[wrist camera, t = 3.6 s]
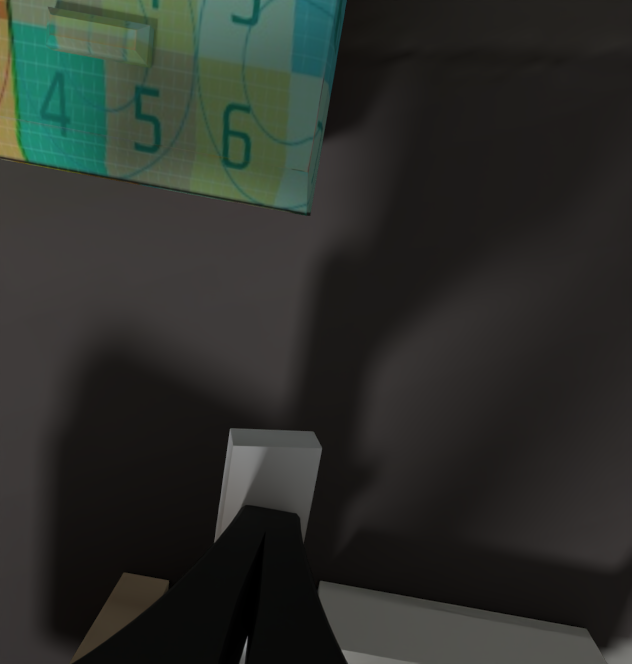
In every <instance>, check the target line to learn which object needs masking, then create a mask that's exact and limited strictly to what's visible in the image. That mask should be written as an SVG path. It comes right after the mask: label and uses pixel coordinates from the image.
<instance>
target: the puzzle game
mask: <svg viewBox="0 0 632 664" xmlns="http://www.w3.org/2000/svg"><path fill="white" fill-rule="evenodd" d="M346 2H347V0H0V159H3V160H8V161H13V162H19V163H24V164H30V165H35V166H40V167H46V168H51V169H57V170H62V171H68V172H73V173H78V174H84V175H89V176H95V177H100V178H105V179H111V180H116V181H122V182H127V183H133V184H138V185H143V186H149V187H154V188H160V189H165V190H170V191H176V192H181V193H187V194H192V195H197V196H203V197H208V198H214V199H219V200H225V201H230V202H235V203H241V204H246V205H252V206H257V207H262V208H268V209H273V210H279V211H284V212H290V213H295V214H300V215H306V216H310V213H311V207H312V201H313V196H314V190H315V184H316V178H317V172H318V166H319V160H320V155H321V149H322V143H323V137H324V131H325V125H326V119H327V114H328V108H329V102H330V96H331V90H332V84H333V78H334V73H335V67H336V61H337V55H338V49H339V43H340V37H341V32H342V26H343V20H344V14H345V8H346Z"/></svg>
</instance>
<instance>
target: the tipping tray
mask: <svg viewBox="0 0 632 664" xmlns="http://www.w3.org/2000/svg"><path fill="white" fill-rule="evenodd" d="M321 452H322V447H321V445H320V443H319V441H318V439H317V437H316V435H315V433H314V432H313V431H288V430H263V429H237V428H230V433H229V440H228V447H227V454H226V461H225V468H224V476H223V483H222V490H221V497H220V504H219V511H218V519H217V526H216V533H215V540H214V543H215V542H216V540H217V539H218V538H219V537H220V536H221V534H222V533H223V532H224V531H225V529H226V528H227V527H228V526H229V524H230V523H231V522H232V520H233V519H234V517H235V516H236V515H237V513H238V511H239V510H240V509H241V508H242V507H244V506H245V505H253V506H259V507H264V508H270V509H275V510H281V511H286V512H292V513H297V514H298V516H299V517H300V523H301V532H302V538H303V543H304V540H305V535H306V529H307V524H308V519H309V514H310V509H311V504H312V499H313V493H314V488H315V483H316V478H317V473H318V468H319V463H320V457H321ZM247 638H248V637H247ZM246 647H247V640H246V643H245V647H244V650H243V653H242V657H241V660H240V663H239V664H245V655H246Z"/></svg>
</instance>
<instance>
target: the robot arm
mask: <svg viewBox="0 0 632 664" xmlns="http://www.w3.org/2000/svg"><path fill="white" fill-rule="evenodd" d="M247 637H248V638H247ZM246 640H247V647H246V655H245V664H348V663H347V661H346V659H345V657H344V655H343V653H342V650H341V648H340V646H339V644H338V642H337V640H336V638H335V636H334V633H333V631H332V629H331V626H330V624H329V622H328V619H327V617H326V614H325V611H324V609H323V606H322V604H321V601H320V598H319V596H318V593H317V590H316V587H315V584H314V580H313V577H312V574H311V571H310V567H309V564H308V560H307V557H306V552H305V548H304V543H303V538H302V532H301V523H300V517H299V516H298V514H297V513H292V512H286V511H281V510H275V509H270V508H264V507H259V506H253V505H245V506H244V507H242V508H241V509H240V510H239V511H238V513H237V515H236V516H235V517H234V519H233V520H232V522H231V523H230V524H229V526H228V527H227V528H226V529H225V531H224V532H223V533H222V534H221V536H220V537H219V538H218V539H217V540H216V542H215V543H214V544H213V545H212V546H211V547H210V548H209V549H208V551H207V552H206V553H205V554H204V555H203V556H202V557H201V558H200V559H199V561H198V562H197V563H196V564H195V565H194V566H193V567H192V568H191V569H190V570H189V571H188V572H187V573H186V574H185V575H184V576H183V577H182V578H180V579H179V580H178V581H177V582H176V583H175V584H174V585H173V586H172V587H171V588H170V589H169V590H168V591H167V592H166V593H165V594H164V595H162V596H161V597H160V598H159V599H158V600H157V601H156V602H154V603H153V604H152V605H151V606H150V607H149V608H147V609H146V610H145V611H144V612H142V613H141V614H140V615H139V616H138V617H136V618H135V619H134V620H133V621H131V622H130V623H129V624H127V625H126V626H125V627H123V628H122V629H121V630H119V631H118V632H117V633H115V634H114V635H113V636H111V637H110V638H109V639H107V640H106V641H105V642H103V643H102V644H100V645H99V646H97V647H96V648H95V649H93V650H92V651H90V652H89V653H87V654H86V655H84V656H83V657H81V658H80V659H78V660H76V661H75V662H73V663H72V664H239V663H240V660H241V657H242V653H243V650H244V647H245V643H246Z"/></svg>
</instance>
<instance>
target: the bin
mask: <svg viewBox="0 0 632 664" xmlns="http://www.w3.org/2000/svg"><path fill="white" fill-rule="evenodd" d="M317 593H318V596H319V598H320V601H321V604H322V606H323V609H324V611H325V614H326V617H327V619H328V622H329V624H330V626H331V629H332V631H333V633H334V636H335V638H336V640H337V642H338V644H339V646H340V648H341V650H342V653H343V655H344V657H345V659H346V661H347V663H348V664H607V662H606V661H605V659H604V657H603V655H602V654H601V652H600V650H599V649H598V647H597V645H596V644H595V642H594V640H593V639H592V637H591V635H590V634H589V632H588V630H587V629H585V628H580V627H574V626H569V625H563V624H558V623H552V622H546V621H541V620H535V619H530V618H524V617H519V616H513V615H508V614H502V613H497V612H491V611H486V610H480V609H475V608H469V607H464V606H458V605H452V604H447V603H441V602H436V601H430V600H425V599H419V598H414V597H408V596H403V595H397V594H392V593H386V592H381V591H375V590H369V589H364V588H358V587H353V586H347V585H342V584H336V583H331V582H325V581H320V582H319V587H318V592H317Z"/></svg>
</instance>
